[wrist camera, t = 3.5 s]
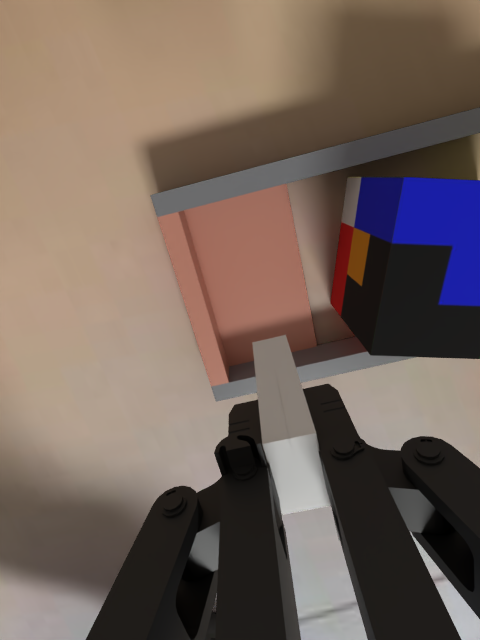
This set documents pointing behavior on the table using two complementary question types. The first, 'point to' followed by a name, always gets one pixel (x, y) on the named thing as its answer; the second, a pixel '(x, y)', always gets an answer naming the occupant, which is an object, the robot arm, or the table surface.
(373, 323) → the puzzle toy
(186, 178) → the table surface
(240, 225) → the trap box
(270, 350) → the robot arm
